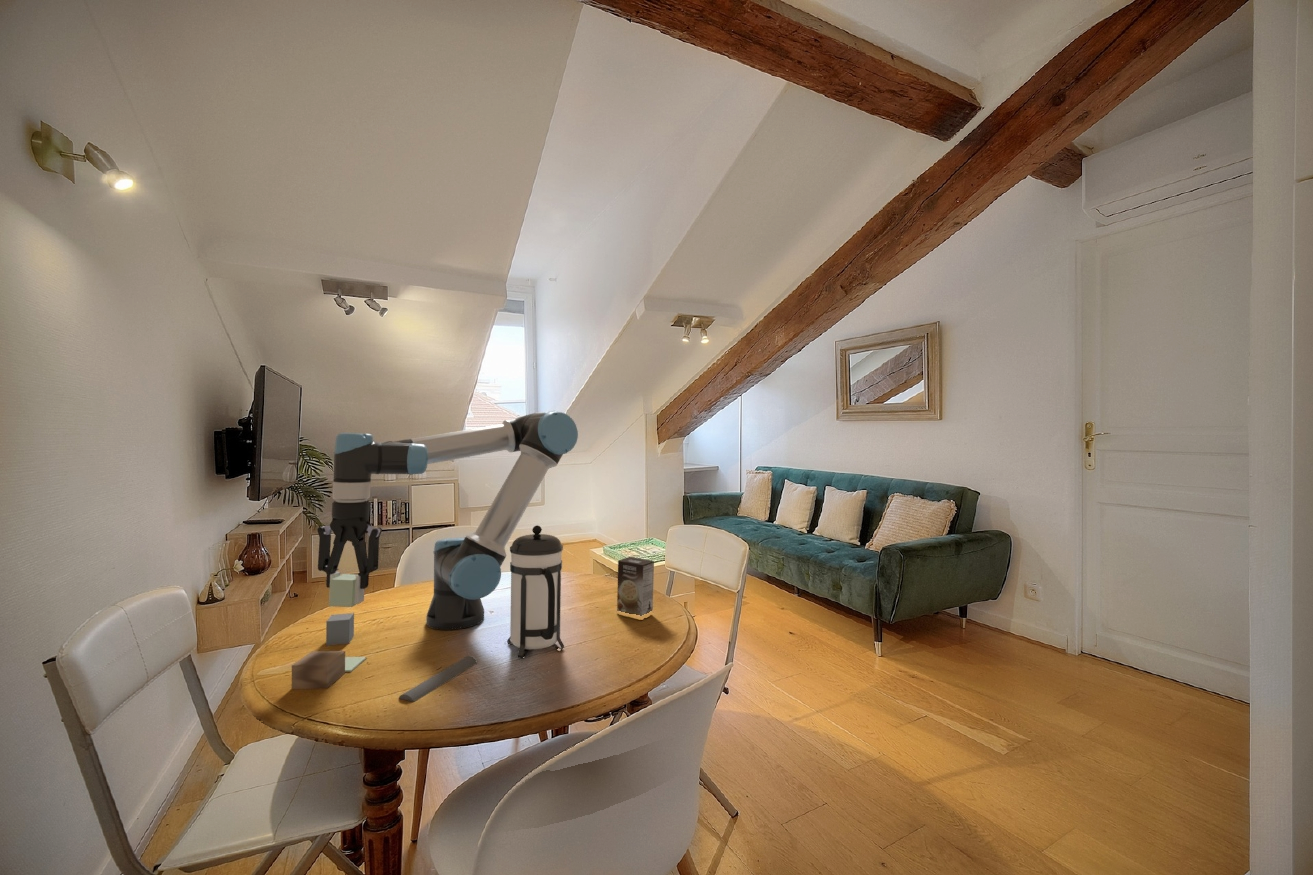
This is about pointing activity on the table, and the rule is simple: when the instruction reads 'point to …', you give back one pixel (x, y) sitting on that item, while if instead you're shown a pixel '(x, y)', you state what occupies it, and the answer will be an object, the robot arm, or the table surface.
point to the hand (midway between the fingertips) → (346, 601)
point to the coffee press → (535, 592)
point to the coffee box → (635, 586)
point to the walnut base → (318, 670)
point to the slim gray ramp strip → (438, 679)
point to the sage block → (342, 591)
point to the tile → (353, 663)
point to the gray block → (340, 629)
